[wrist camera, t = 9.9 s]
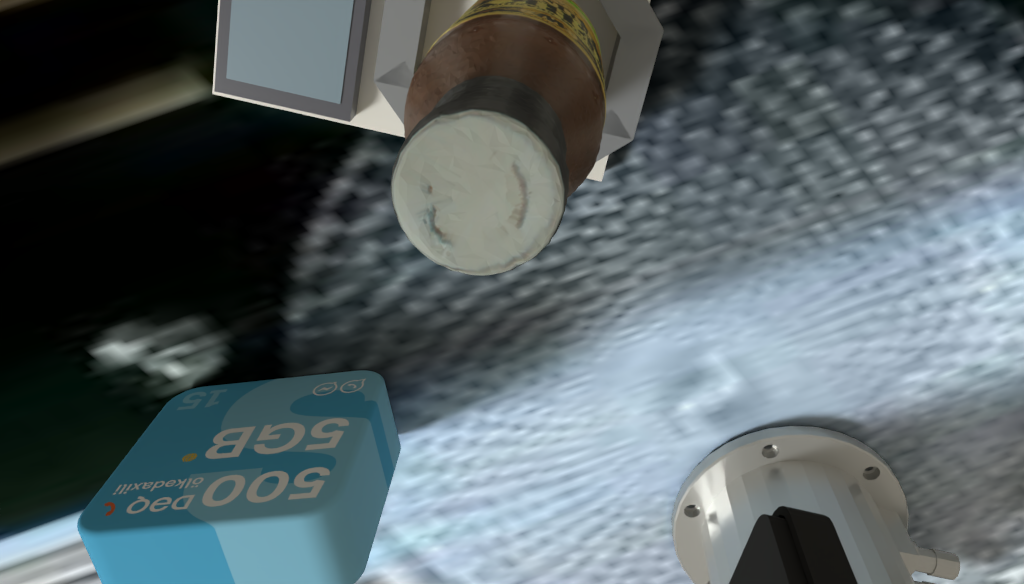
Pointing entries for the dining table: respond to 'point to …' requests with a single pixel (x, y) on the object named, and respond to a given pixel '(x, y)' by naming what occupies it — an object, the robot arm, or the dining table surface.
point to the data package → (250, 486)
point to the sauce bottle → (499, 133)
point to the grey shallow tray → (440, 3)
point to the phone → (293, 53)
